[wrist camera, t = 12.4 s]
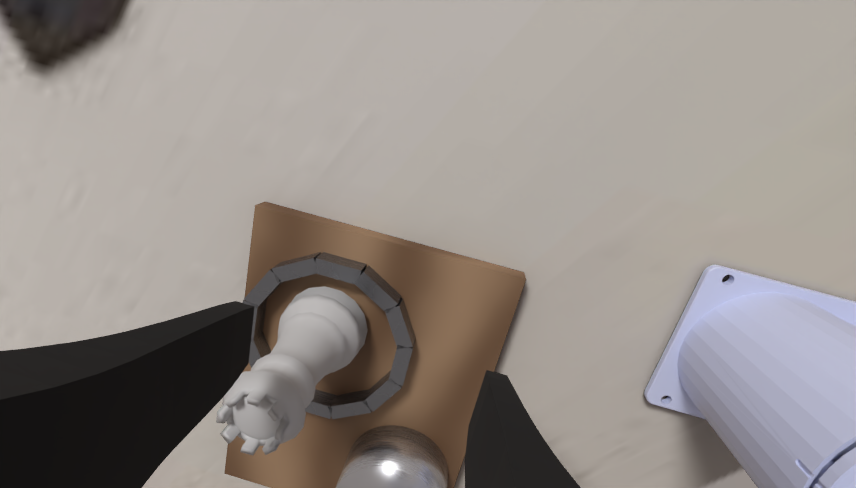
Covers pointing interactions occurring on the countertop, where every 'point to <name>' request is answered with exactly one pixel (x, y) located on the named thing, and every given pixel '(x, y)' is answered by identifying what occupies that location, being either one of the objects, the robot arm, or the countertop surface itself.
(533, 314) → the countertop surface
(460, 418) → the carrier board
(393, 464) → the silver metal dome
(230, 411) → the rook chess piece
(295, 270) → the socket ring
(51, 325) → the countertop surface
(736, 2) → the countertop surface
